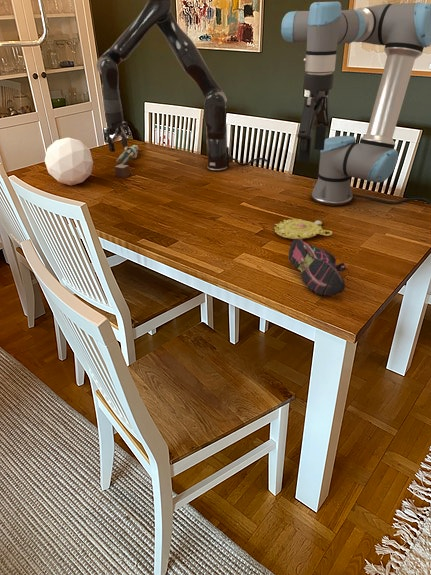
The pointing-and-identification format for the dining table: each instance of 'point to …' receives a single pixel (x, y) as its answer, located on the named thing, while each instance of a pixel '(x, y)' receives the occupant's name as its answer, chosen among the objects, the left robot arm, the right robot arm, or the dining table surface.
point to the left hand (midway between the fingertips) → (118, 149)
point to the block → (122, 170)
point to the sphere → (69, 161)
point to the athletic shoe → (317, 268)
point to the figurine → (128, 154)
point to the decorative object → (300, 229)
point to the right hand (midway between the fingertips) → (311, 155)
